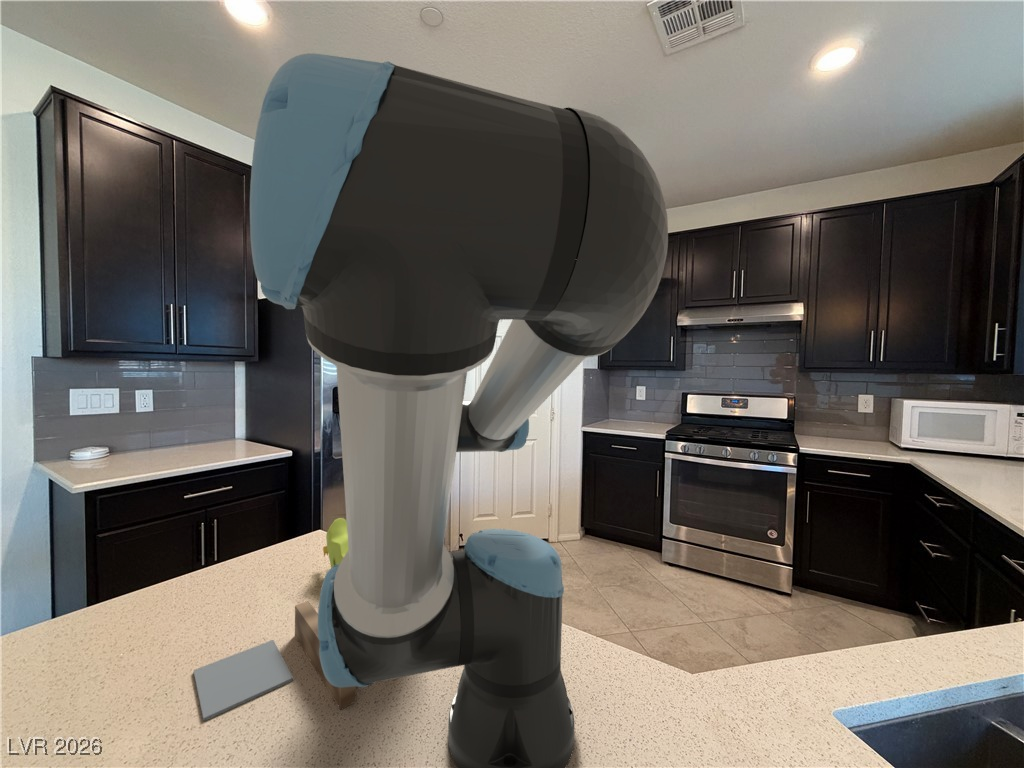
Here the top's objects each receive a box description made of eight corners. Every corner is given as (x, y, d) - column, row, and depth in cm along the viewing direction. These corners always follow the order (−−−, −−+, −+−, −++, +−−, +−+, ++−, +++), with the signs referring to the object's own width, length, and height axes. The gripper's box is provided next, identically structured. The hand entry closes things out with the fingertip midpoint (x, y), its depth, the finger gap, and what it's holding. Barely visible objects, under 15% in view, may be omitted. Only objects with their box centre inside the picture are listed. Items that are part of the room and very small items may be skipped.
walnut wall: (356, 701, 53) (356, 663, 53) (340, 709, 51) (341, 671, 51) (307, 630, 67) (308, 600, 67) (294, 635, 66) (295, 605, 66)
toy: (322, 603, 86) (357, 608, 72) (315, 523, 90) (347, 514, 76) (351, 593, 90) (390, 595, 77) (343, 517, 94) (378, 507, 81)
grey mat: (293, 680, 56) (293, 677, 56) (203, 721, 49) (203, 718, 49) (273, 642, 64) (273, 639, 64) (193, 672, 57) (193, 670, 57)
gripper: (429, 468, 74) (427, 593, 75) (334, 483, 63) (332, 631, 63) (452, 475, 69) (450, 610, 69) (354, 493, 57) (351, 656, 57)
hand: (394, 620), depth 66 cm, fingers closed on ice cream cone, 4 cm apart
